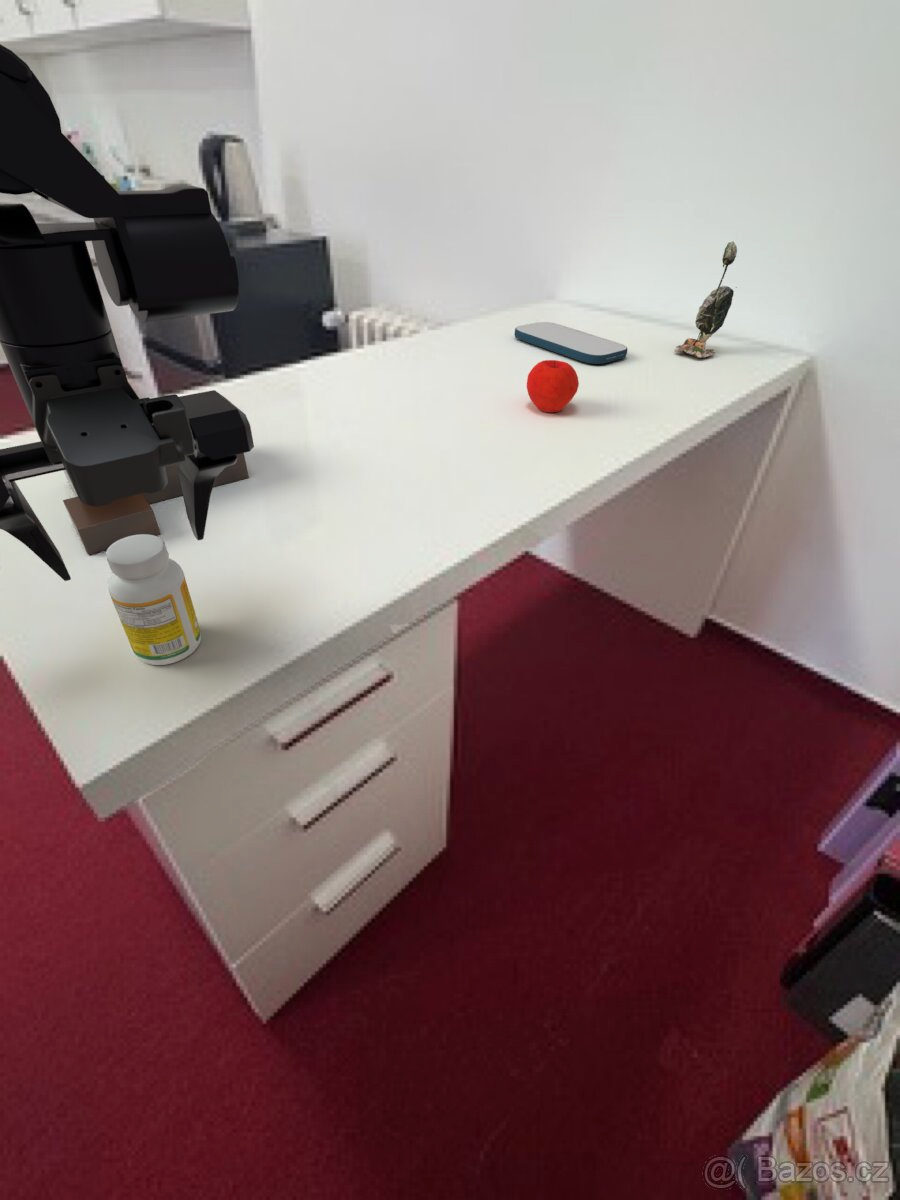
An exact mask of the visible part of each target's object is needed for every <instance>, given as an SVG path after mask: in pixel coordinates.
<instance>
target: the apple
mask: <svg viewBox="0 0 900 1200" xmlns="http://www.w3.org/2000/svg"><path fill="white" fill-rule="evenodd" d="M579 385H580V382H579V376H578V373H577V371H576V370H575V369H574V367H573V366H572V365H571V364H570V363H568V362H567V361H562V360H557V359H545V360H541V361H539V362H537V363H536V364H535V365H534V366H533V367H532V369H531V370H530V371H529V373H528V375H527V379H526V391H527V394H528V395H527V396H528V397H529V399H530V401H531V402H532V404H533V405H534V406H535V407H536V409H538V411H541V412H544V413H557V412H560V411H562V410H563V409H564V408H565V407H567V405H568V404H569V403H570V402H571V401H572V400H573V399H574V397H575V396H576V394H577V392H578V390H579Z"/></svg>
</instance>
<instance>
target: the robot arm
mask: <svg viewBox="0 0 900 1200" xmlns="http://www.w3.org/2000/svg"><path fill="white" fill-rule="evenodd" d="M31 193H34V194H35V195H37V196H39V197H41V198H43V199H44V200H46V201H48V202H50V203H53V204H55V205H56V206H59V207H61V208H63V209H66V210H68V211H69V212H72V213H74V214H76V215H78V216H81V217H83V218H87V219H93V221H87V222H85V221H84V222H61V223H58V222H57V223H56V222H55V223H47V222H45V223H43V222H42V223H40V222H36V220H35V217H34V216H33V214H32V213H31V212H30V209H28V207H27V206H26V205H25V204H24V203H21V202H20V203H19V202H18V203H0V346H1V349H2V352H3V353H4V356H5V358H6V361H7V364H8V365H9V368H10V370H11V372H12V375H13V377H14V380H15V382H16V384H17V387H18V390H19V392H20V394H21V397H22V400H23V401H24V404H25V406H26V409H27V411H28V414H29V416H30V419H31V421H32V424H33V426H34V428H35V430H36V433H37V435H38V437H39V440H40V441H35V442H30V443H25V444H19V445H15V446H10V447H4V448H0V530H2V531H5V532H6V533H8V534H9V535H10V536H12V537H13V538H15V539H16V540H17V541H19V542H20V543H22V544H24V545H25V546H26V547H27V548H28V549H29V550H31V552H32V553H34V554H35V555H36V557H38V558H39V559H40V560H41V561H42V562H43V563H45V565H47V566H48V568H50V569H51V571H53V572H54V573H55V574H56V575H58V576H59V578H61V579H62V580H63V581H64V582H68V581H71V580H72V577H71V575H70V572H69V571H68V569H67V566H66V564H65V562H64V559H63V557H62V555H61V553H60V551H59V550H58V548H57V546H56V545H55V543H54V542H53V540H52V538H51V537H50V535H49V534H48V532H47V530H46V528H45V527H44V525H43V524H42V522H41V521H40V519H39V517H38V516H37V514H36V513H35V511H34V510H33V508H32V506H31V505H30V503H29V502H28V500H27V499H26V497H25V495H24V494H23V492H22V490H21V489H20V487H19V485H18V484H17V482H16V481H21V480H27V479H30V478H34V477H39V476H43V475H48V474H53V473H57V472H62V471H63V470H66V472H67V474H68V476H69V478H70V480H71V482H72V484H73V487H74V489H75V491H76V493H77V495H78V498H79V499H80V501H82V502H83V503H84V504H86V505H89V506H104V505H108V504H111V503H113V502H114V501H115V500H117V499H121V498H125V497H129V496H133V495H137V494H141V493H147V494H151V493H155V492H158V491H160V490H162V489H164V488H165V487H166V485H167V483H168V478H167V473H166V466H170V465H174V464H176V465H177V469H178V474H179V479H180V484H181V488H182V493H183V495H182V497H183V502H184V507H185V512H186V516H187V519H188V522H189V525H190V529H191V532H192V534H193V536H194V538H195V539H196V540H197V541H199V542H200V541H202V540H204V537H205V532H206V527H207V518H208V513H209V508H210V501H211V496H212V492H213V488H214V487H213V486H214V482H215V479H216V477H217V476H218V475H219V473H220V472H221V471H222V470H223V469H224V468H225V467H227V466H231V465H234V464H235V463H236V461H237V454H241V453H244V454H245V453H249V452H251V451H252V450H253V449H254V448H255V445H254V438H253V433H252V427H251V423H250V421H249V419H248V417H247V415H246V413H245V412H243V410H241V409H240V408H239V407H237V406H236V405H235V404H234V403H232V402H231V401H230V400H229V399H227V397H226V396H224V395H222V394H221V393H219V392H218V391H216V390H214V389H213V390H207V391H201V392H196V393H191V394H186V395H185V394H184V395H179V394H175V393H174V394H168V395H162V396H158V397H151V398H150V397H143V398H142V397H141V398H140V397H139V396H138V394H137V392H136V391H135V390H134V388H133V387H132V385H131V384H130V383H129V381H128V378H127V374H126V371H125V369H124V366H123V363H122V360H121V356H120V352H119V348H118V346H117V341H116V339H115V336H114V332H113V329H112V326H111V325H112V324H111V322H110V319H109V316H108V313H107V309H106V305H105V302H104V299H103V296H102V292H101V288H100V286H99V282H98V279H97V276H96V272H95V269H94V265H93V262H92V259H91V256H90V253H89V249H88V246H87V242H91V244H92V248H93V254H94V258H95V261H96V266H97V269H98V271H99V275H100V277H101V280H102V283H103V285H104V287H105V290H106V292H107V294H108V296H109V298H110V299H111V301H112V302H113V304H114V305H115V306H116V307H127V306H129V308H130V309H131V311H132V313H133V315H134V316H135V318H137V320H138V321H139V322H140V323H148V322H156V321H164V320H173V319H178V318H181V319H182V318H188V317H189V318H190V317H194V316H195V317H197V316H203V315H211V314H219V313H226V312H233V311H234V310H235V309H237V305H238V303H239V295H240V287H239V286H240V281H239V274H238V273H239V272H238V266H237V261H236V258H235V256H234V255H233V254H231V252H230V248H229V244H228V242H227V239H226V236H225V232H224V231H223V229H222V227H221V225H220V222H219V221H218V219H217V218H216V216H215V215H214V213H213V212H212V208H211V201H210V195H209V192H208V191H207V190H206V189H205V188H203V187H199V186H195V185H172V186H168V187H166V188H163V189H156V190H155V189H153V190H151V189H149V190H116V189H115V188H114V187H113V186H112V185H111V183H109V181H108V180H107V179H106V178H105V175H104V174H101V173H100V172H99V171H98V169H96V167H95V166H94V165H93V164H92V163H91V162H90V161H89V160H88V159H87V158H86V157H85V156H84V154H83V153H81V151H79V149H78V148H77V147H76V146H75V145H74V144H73V142H71V140H70V139H68V137H67V136H66V135H65V134H64V133H63V131H62V126H61V120H60V117H59V115H58V113H57V110H56V107H55V105H54V103H53V100H52V98H51V96H50V94H49V93H48V91H47V90H46V88H45V87H44V86H43V84H42V83H41V82H40V80H39V78H38V77H37V76H36V74H35V73H34V72H33V70H32V69H31V67H30V66H29V64H27V63H26V62H25V61H24V60H23V59H22V58H20V57H19V56H18V55H17V54H16V53H15V52H14V51H13V50H12V49H10V48H7V47H6V46H4V45H2V44H1V43H0V194H8V195H14V196H17V195H25V194H31Z"/></svg>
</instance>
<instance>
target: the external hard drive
mask: <svg viewBox="0 0 900 1200" xmlns="http://www.w3.org/2000/svg"><path fill="white" fill-rule="evenodd" d="M514 337H515V338H516V339H517V340H519V341H522V342H525V343H528V344H531V345H534V346H536V347H540V348H543V349H545V350H548V351H551V352H553V353H557V354H559V355H562V356H565V357H567V358H571V359H574V360H577V361H580V362H582V363H586V364H592V365H602V364H607V363H611V362H615V361H619V360H622V359H624V358H626V357H627V354H628V347H627V346H626V345H625V344H624V343H623V344H622V343H620V342H616V341H614V340H610V339H608V338H604V337H601V336H598V335H594V334H592V333H588V332H585V331H582V330H578V329H575V328H573V327H569V326H565V325H564V324H563V325H562V324H560V323H555V322H550V321H549V322H548V321H537V322H533V323H529V324H528V323H527V324H522V325H518V326H516V327H515V328H514Z"/></svg>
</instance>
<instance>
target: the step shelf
mask: <svg viewBox="0 0 900 1200" xmlns="http://www.w3.org/2000/svg"><path fill="white" fill-rule="evenodd" d="M62 471H63V473H64V476H65V478H66V480H67V483H68V485H69V487H70V489H71V491H72V492H73V494H74V496H73V497H70V498H69V497H68V498H66V499H63V500H62V502H63V505H64V507H65V509H66V512H67V514H68V517H69V518H70V521H71V523H72V526H73V527H74V530H75V532H76V534H77V536H78V538H79V540H80V542H81V544H82V546H83V548H84V550H85V552H86V554H87V555H88V556H90V555H93V554H97V553H101V552H105V551H107V549H108V548H109V547H110V546H111V545H112V544H113V543H115V542H116V541H118V540H120V539H123V538H125V537H128V536H132V535H140V534H148V535H154V536H158V535H161V530H160V527H159V524H158V521H157V518H156V515H155V511H154V509H153V507H152V506H151V504H155V503H159V502H164V501H166V500H170V499H175V498H178V497H183V493H182V488H181V484H180V479H179V474H178V469H177V465H176V464H174V465H170V466H166V473H167V478H168V483H167V485H166V487H165V488H164V489H162V490H160V491H158V492H155V493H151V494H147V493H141V494H137V495H133V496H129V497H125V498H121V499H117V500H115V501H114V502H113V503H111V504H108V505H104V506H89V505H86V504H84V503H83V502H82V501H80V499H79V498H78V495H77V493H76V491H75V489H74V487H73V484H72V482H71V480H70V478H69V476H68V474H67V472H66V470H62ZM249 478H250V476H249V471H248V467H247V461H246V457H245V453H241V454H237V461H236V463H235V464H234V465H231V466H227V467H225V468H224V469H223V470H222V471H221V472H220V473H219V475H218V476H217V477H216V479H215V482H214V486H213V488H215V487H219V486H223V485H226V484H230V483H235V482H237V481H241V480H246V479H249Z"/></svg>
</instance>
